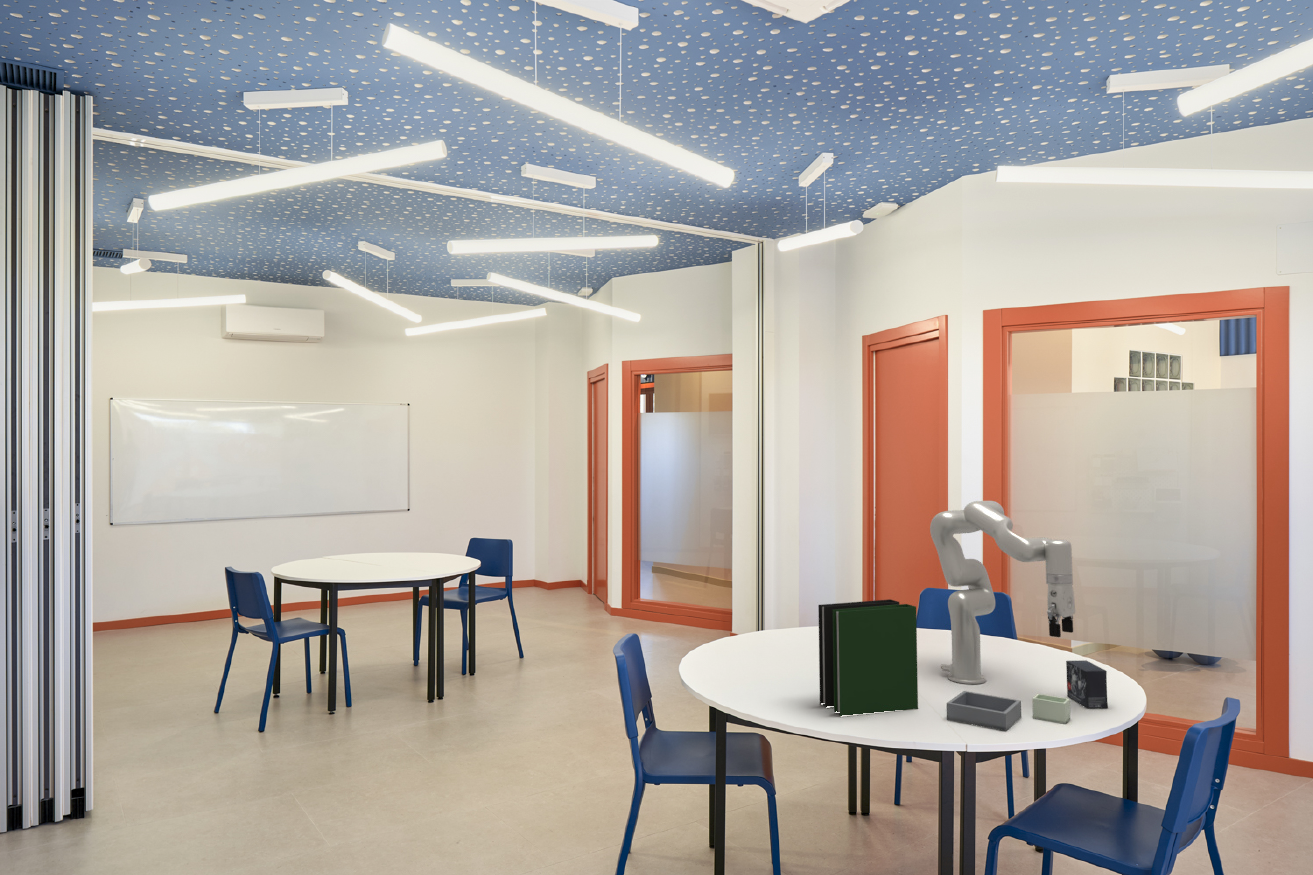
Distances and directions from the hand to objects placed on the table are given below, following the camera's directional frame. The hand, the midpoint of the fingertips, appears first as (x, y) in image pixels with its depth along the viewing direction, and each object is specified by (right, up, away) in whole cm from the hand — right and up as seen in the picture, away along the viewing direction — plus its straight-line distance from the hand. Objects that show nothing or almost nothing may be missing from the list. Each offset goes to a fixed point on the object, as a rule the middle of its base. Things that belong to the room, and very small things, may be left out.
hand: (1061, 634), depth 251 cm
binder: (-60, -24, +3) cm, 65 cm away
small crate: (-8, -23, -10) cm, 26 cm away
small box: (+11, -24, +5) cm, 26 cm away
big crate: (-28, -23, -10) cm, 38 cm away
